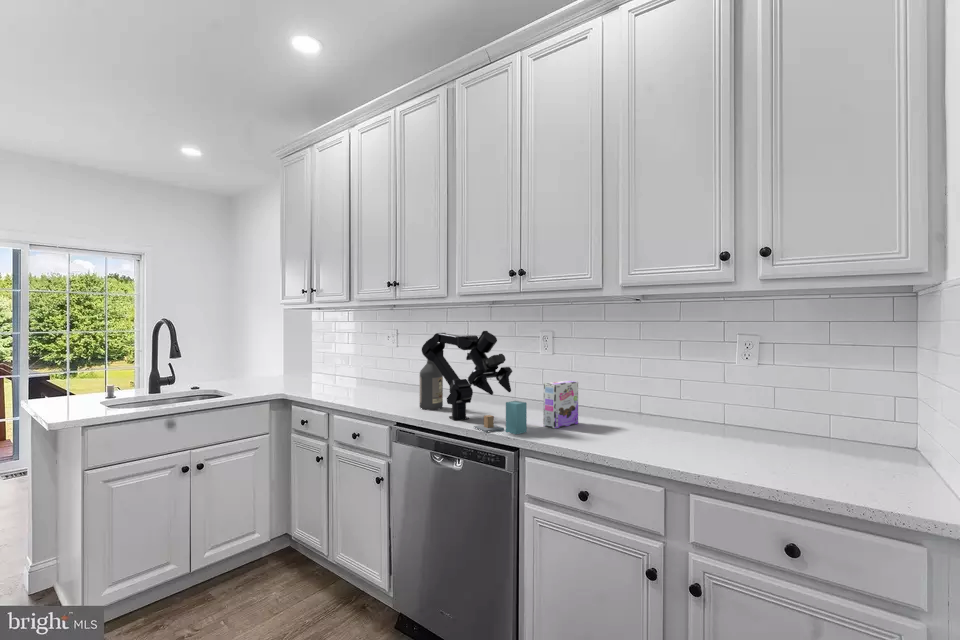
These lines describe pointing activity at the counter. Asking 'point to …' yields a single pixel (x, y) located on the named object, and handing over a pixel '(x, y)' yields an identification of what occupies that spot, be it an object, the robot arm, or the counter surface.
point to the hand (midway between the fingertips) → (501, 392)
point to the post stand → (489, 424)
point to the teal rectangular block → (516, 417)
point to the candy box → (560, 404)
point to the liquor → (431, 387)
